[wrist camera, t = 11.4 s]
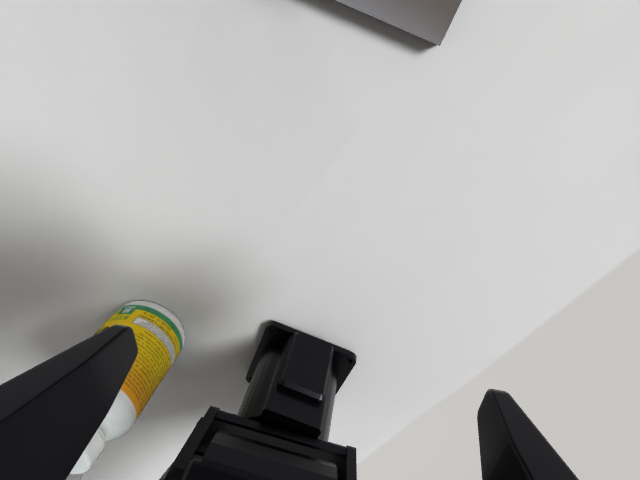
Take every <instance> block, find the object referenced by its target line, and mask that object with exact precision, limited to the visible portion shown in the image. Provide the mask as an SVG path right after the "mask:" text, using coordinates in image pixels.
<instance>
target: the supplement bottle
mask: <svg viewBox="0 0 640 480" xmlns="http://www.w3.org/2000/svg"><path fill="white" fill-rule="evenodd" d="M117 324H118V325H125V326H129V327H131V328H132V329H133V331H134V335H135V339H136V343H137V346H138V354H137V357H136V359H135V361H134V363H133V365H132V367H131V369H130V371H129V373H128V375H127V377H126V379H125V381H124V383H123V385H122V387H121V389H120V391H119V393H118V395H117V397H116V399H115V401H114V403H113V405H112V406H111V408H110V410H109V412H108V414H107V415H106V417H105V419H104V420H103V422H102V423H101V425H100V427H99V428H98V430H97V431H96V433H95V434H94V436H93V438H92V439H91V441H90V442H89V444H88V445H87V447H86V449H85V450H84V452H83V453H82V455H81V457H80V458H79V460H78V461H77V463H76V464H75V466H74V468H73V469H72V471H71V472H70V474H81V473H84V472H86V471H87V470H89V468H90V467H91V466H92V464H93V463H94V462H95V460H96V459H97V457H98V456H99V455H100V453H101V452H102V451H103V449H104V445H105V442H106V440H112V439H115V438H118V437H120V436H122V435H123V434H125V433H126V432H127V431H128V430H129V429H130V428H131V427H132V426H133V424H134V423H135V421H136V420H137V418H138V417H139V415H140V413H141V412H142V410H143V409H144V407H145V406H146V404H147V402H148V401H149V399H150V398H151V396H152V395H153V393H154V391H155V390H156V388H157V387H158V385H159V384H160V382H161V381H162V379H163V378H164V376H165V375H166V373H167V371H168V370H169V368H170V367H171V365H172V364H173V362H174V361H175V359H176V358H177V356H178V355H179V353H180V351H181V350H182V348H183V346H184V342H185V335H184V330H183V327H182V325H181V323H180V321H179V320H178V319H177V318H176V316H175V315H173V314H172V313H171V312H170V311H168V310H167V309H165V308H164V307H162V306H160V305H158V304H155V303H152V302H148V301H132V302H128V303H126V304H125V305H123V306H122V307H120V308H119V309H118V311H116V312H115V313H114V314H113V315H112V316H111V317H110V319H109V320H108V321H107V322H106V323H105V324H104V325H103V326H102V327H101V328H100V329H99V330H98V331H97V332H96V333H95V334H94V335H96V334H98V333H100V332H101V331H103V330H105V329H107V328H109V327H111V326H113V325H117ZM94 335H93V336H94Z"/></svg>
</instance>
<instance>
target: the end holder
mask: <svg viewBox="0 0 640 480" xmlns="http://www.w3.org/2000/svg"><path fill="white" fill-rule="evenodd" d="M336 1H338V2H340V3H342V4H345V5H347V6H349V7H352V8H354V9H356V10H359V11H361V12H363V13H365V14H368V15H370V16H372V17H375V18H377V19H379V20H381V21H384V22H386V23H388V24H391V25H393V26H395V27H397V28H400V29H402V30H404V31H407V32H409V33H411V34H413V35H416V36H418V37H420V38H423V39H425V40H427V41H430V42H432V43H434V44H436V45H439V46H440V44H441V42H442V40H443V38H444V36H445V34H446V32H447V30H448V28H449V26H450V24H451V22H452V20H453V18H454V15H455V13H456V11H457V9H458V7H459V5H460V3H461V1H462V0H336Z"/></svg>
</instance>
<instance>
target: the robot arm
mask: <svg viewBox="0 0 640 480" xmlns="http://www.w3.org/2000/svg"><path fill="white" fill-rule="evenodd" d="M272 328H273V329H275V330H273V329H272ZM137 354H138V346H137V343H136V339H135V335H134V331H133V329H132V328H131V327H129V326H125V325H118V324H117V325H113V326H111V327H109V328H107V329H105V330H103V331H101V332H100V333H98V334H96V335H94V336H92V337H90V338H88V339H86V340H84V341H83V342H81V343H79V344H77V345H75V346H73V347H71V348H69V349H67V350H66V351H64V352H62V353H60V354H58V355H56V356H54V357H52V358H51V359H49V360H47V361H45V362H43V363H41V364H39V365H37V366H35V367H34V368H32V369H30V370H28V371H26V372H24V373H22V374H20V375H18V376H17V377H15V378H13V379H11V380H9V381H7V382H5V383H3V384H1V385H0V480H66V479H67V477H68V475H69V474H70V472H71V471H72V469H73V468H74V466H75V464H76V463H77V461H78V460H79V458H80V457H81V455H82V453H83V452H84V450H85V449H86V447H87V445H88V444H89V442H90V441H91V439H92V438H93V436H94V434H95V433H96V431H97V430H98V428H99V427H100V425H101V423H102V422H103V420H104V419H105V417H106V415H107V414H108V412H109V410H110V408H111V406H112V405H113V403H114V401H115V399H116V397H117V395H118V393H119V391H120V389H121V387H122V385H123V383H124V381H125V379H126V377H127V375H128V373H129V371H130V369H131V367H132V365H133V363H134V361H135V359H136V357H137ZM355 364H356V355H355V354H354V353H353V352H350V351H348V350H345V349H343V348H340V347H338V346H335V345H333V344H330V343H328V342H325V341H323V340H320V339H318V338H315V337H313V336H310V335H308V334H305V333H303V332H300V331H298V330H295V329H293V328H290V327H288V326H285V325H282V324H280V323H277V322H274V321H272V322H269V323H268V324H267V326H266V329H265V331H264V334H263V336H262V339H261V341H260V344H259V346H258V349H257V351H256V354H255V356H254V359H253V361H252V364H251V366H250V369H249V371H248V373H247V376H246V380H247V381H248V382H249V383H250V384H249V387H248V389H247V392H246V394H245V397H244V399H243V402H242V404H241V407H240V409H239V412H238V414H237V415H235V414H231V413H228V412H224V411H221V410H220V408H217V407H213V406H210V408H209V409H208V411H207V413H206V414H205V416H204V417H201V418H200V420H199V421H198V422H197V425H196V427H195V428H194V430H193V432H192V433H191V435H190V436H189V438H188V440H187V441H186V443H185V445H184V446H183V448H182V449H181V451H180V453H179V454H178V456H177V458H176V459H175V461H174V462H173V463H172V464H171V466H170V467H169V468H168V469H167V471H166V472H165V473H164V474H163V475H162V477H161V478H160V479H159V480H357V479H356V477H357V476H356V448H354V447H351V446H346V447H344V446H341V445H338V444H334V443H331V442H328V437H329V431H330V425H331V418H332V412H333V405H334V399H335V395H336V393H337V392H338V390H339V389H340V387H341V386H342V384H343V383H344V381H345V379H346V378H347V376H348V375H349V373H350V372H351V370H352V369H353V367H354V365H355ZM477 419H478V431H479V432H478V433H479V444H480V456H481V467H482V479H483V480H579V479H578V478H577V477H576V476H575V475H574V473H573V472H572V471H571V470H570V468H569V467H568V466H567V465H566V463H565V462H564V461H563V460H562V458H561V457H560V456H559V455H558V454H557V452H556V451H555V450H554V449H553V447H552V446H551V445H550V444H549V443H548V441H547V440H546V439H545V437H544V436H543V435H542V434H541V433H540V431H539V430H538V429H537V428H536V426H535V425H534V424H533V423H532V422H531V420H530V419H529V418H528V417H527V415H526V414H525V413H524V412H523V410H522V409H521V408H520V407H519V405H518V404H517V403H516V402H515V400H513V398H512V397H511V396H510V394H508V393H506V392H505V391H500V390H495V389H489V390H488V391H487V392H486V394H485V396H484V399H483V401H482V403H481V405H480V408H479V410H478V416H477Z"/></svg>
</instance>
